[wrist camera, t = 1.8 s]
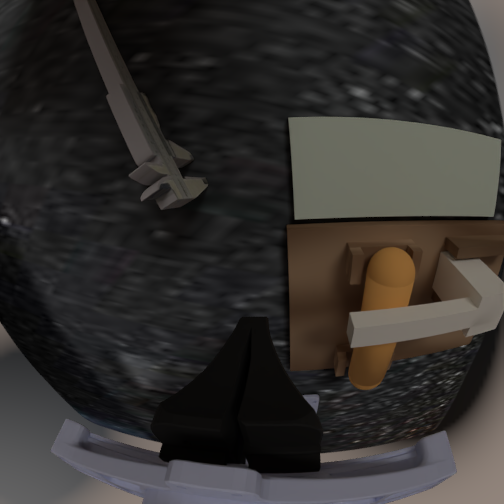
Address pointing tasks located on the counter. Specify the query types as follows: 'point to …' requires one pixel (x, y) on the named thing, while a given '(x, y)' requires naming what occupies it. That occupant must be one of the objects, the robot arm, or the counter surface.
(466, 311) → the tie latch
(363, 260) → the clamp board
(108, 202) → the counter surface
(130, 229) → the counter surface
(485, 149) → the mat
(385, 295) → the orange sausage
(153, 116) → the caliper
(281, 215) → the counter surface
